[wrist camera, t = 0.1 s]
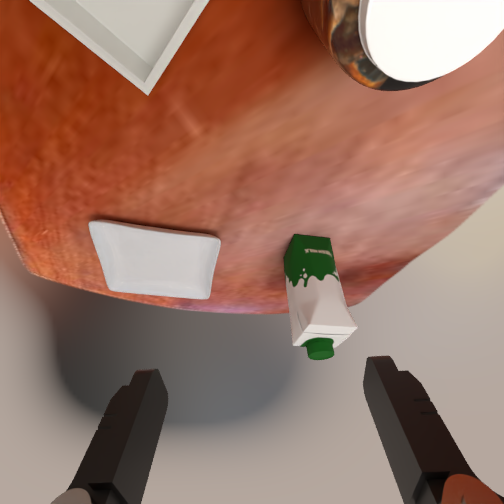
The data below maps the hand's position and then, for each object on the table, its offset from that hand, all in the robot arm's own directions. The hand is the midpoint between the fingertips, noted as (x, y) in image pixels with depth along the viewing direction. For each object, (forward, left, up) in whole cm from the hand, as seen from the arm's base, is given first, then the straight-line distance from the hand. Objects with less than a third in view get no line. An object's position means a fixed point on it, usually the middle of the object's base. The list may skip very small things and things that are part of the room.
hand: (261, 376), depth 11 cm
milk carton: (+29, -14, -32) cm, 45 cm away
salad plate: (+10, -35, -32) cm, 48 cm away
